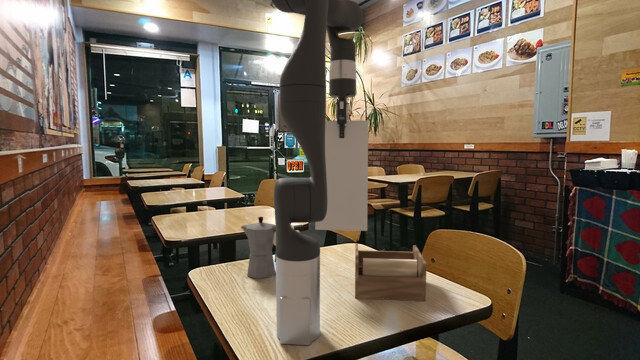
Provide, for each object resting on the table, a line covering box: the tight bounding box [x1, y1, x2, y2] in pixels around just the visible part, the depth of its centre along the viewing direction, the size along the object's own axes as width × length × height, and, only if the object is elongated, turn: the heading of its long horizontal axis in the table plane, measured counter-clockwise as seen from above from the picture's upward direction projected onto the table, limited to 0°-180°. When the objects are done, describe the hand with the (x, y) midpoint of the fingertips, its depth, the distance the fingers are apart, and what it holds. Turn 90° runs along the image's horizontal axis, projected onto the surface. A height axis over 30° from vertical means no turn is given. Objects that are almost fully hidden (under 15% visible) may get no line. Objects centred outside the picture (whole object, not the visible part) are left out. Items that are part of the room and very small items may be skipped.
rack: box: [354, 243, 428, 302], centre depth 100 cm, size 16×18×10 cm
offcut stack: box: [363, 258, 417, 277], centre depth 96 cm, size 4×14×10 cm, turn 84°
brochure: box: [314, 119, 369, 232], centre depth 100 cm, size 14×6×30 cm, turn 85°
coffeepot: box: [240, 216, 276, 280], centre depth 110 cm, size 15×9×18 cm, turn 78°
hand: (342, 140), depth 101 cm, fingers closed on brochure, 5 cm apart
